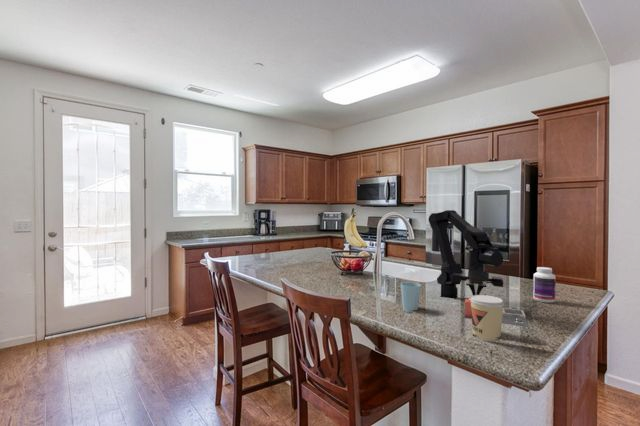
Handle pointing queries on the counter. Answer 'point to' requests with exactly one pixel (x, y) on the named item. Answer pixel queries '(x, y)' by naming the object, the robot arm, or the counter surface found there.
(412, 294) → the cup
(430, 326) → the counter surface
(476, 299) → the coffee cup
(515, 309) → the panel
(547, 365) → the counter surface
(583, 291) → the counter surface
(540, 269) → the pill bottle
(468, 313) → the red block with knob
